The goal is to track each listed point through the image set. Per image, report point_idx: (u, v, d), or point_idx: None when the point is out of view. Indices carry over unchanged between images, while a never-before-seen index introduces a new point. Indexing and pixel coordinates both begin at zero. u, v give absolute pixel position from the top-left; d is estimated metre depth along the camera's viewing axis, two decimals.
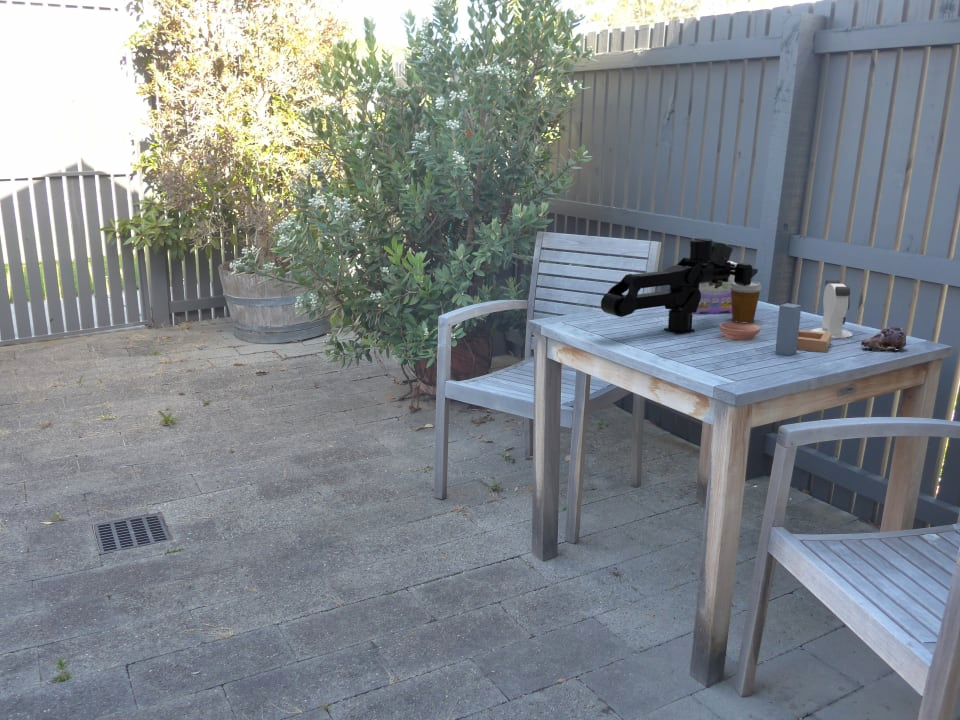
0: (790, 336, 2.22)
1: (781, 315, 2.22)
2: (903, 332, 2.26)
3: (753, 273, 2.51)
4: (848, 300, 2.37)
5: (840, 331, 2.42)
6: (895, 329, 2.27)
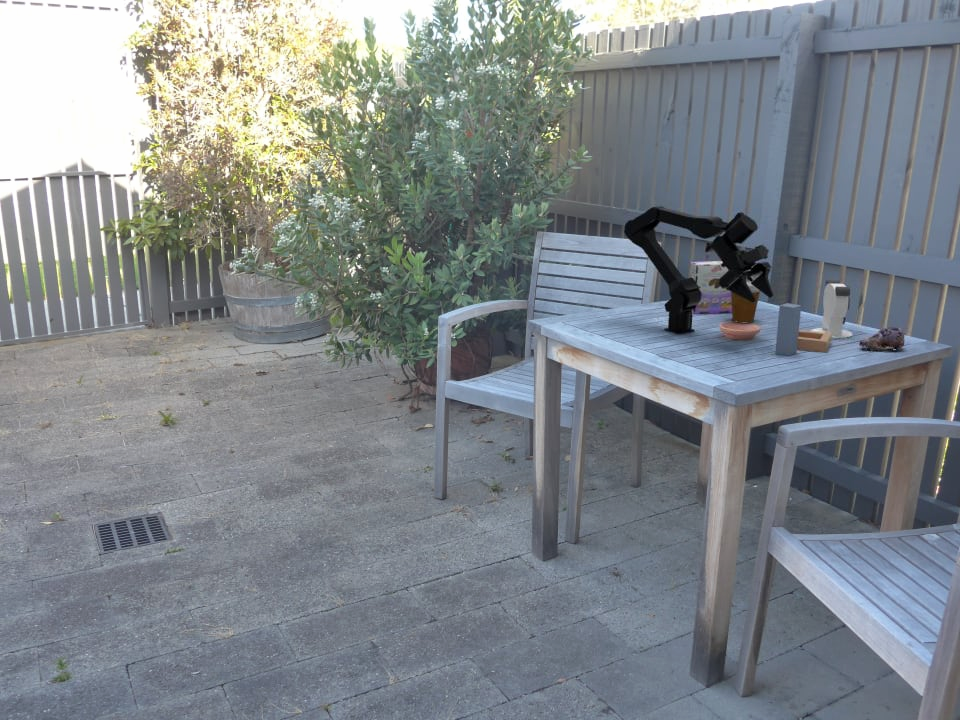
0: (790, 336, 2.22)
1: (781, 315, 2.22)
2: (901, 332, 2.26)
3: (746, 295, 2.25)
4: (848, 300, 2.37)
5: (840, 331, 2.42)
6: (893, 329, 2.27)
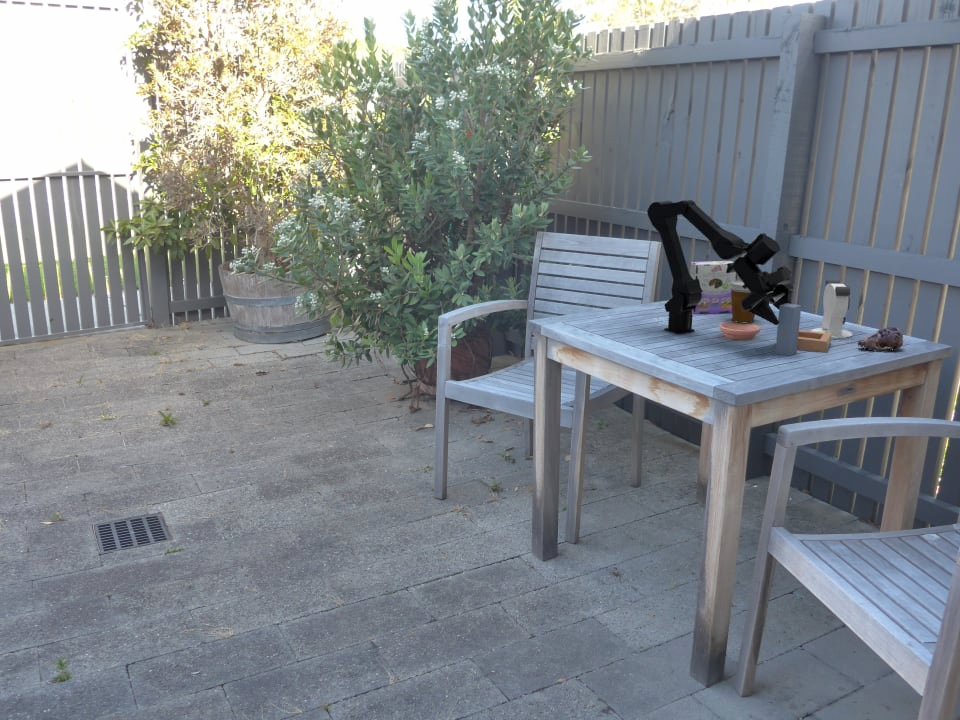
0: (790, 336, 2.22)
1: (781, 315, 2.22)
2: (900, 332, 2.26)
3: (769, 318, 2.21)
4: (848, 300, 2.37)
5: (840, 331, 2.42)
6: (892, 329, 2.27)
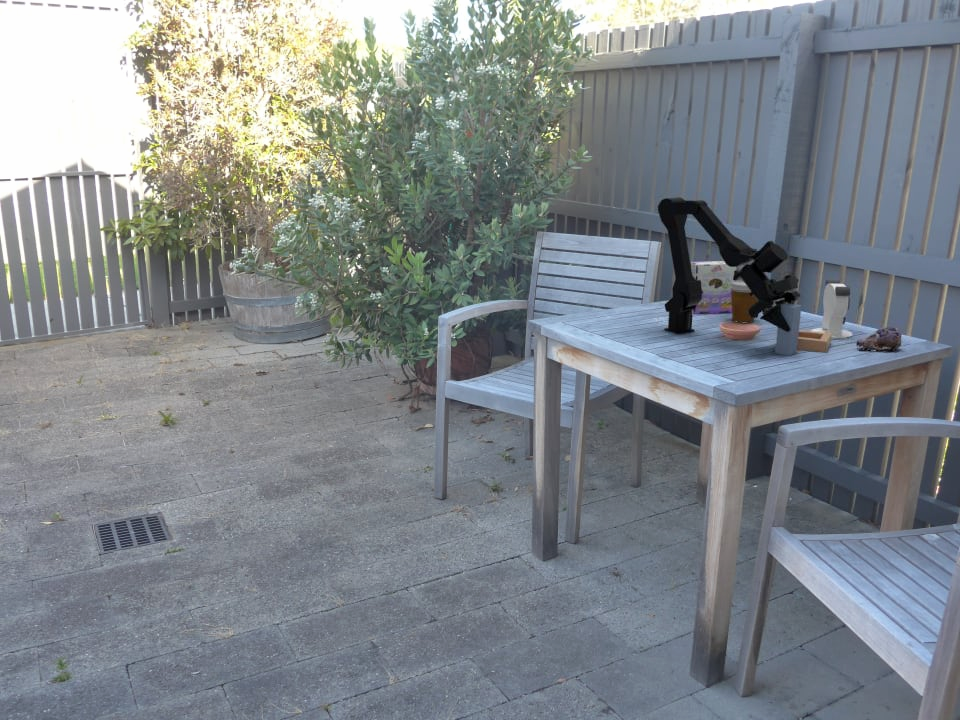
0: (790, 336, 2.22)
1: None
2: (898, 332, 2.26)
3: (780, 325, 2.22)
4: (848, 300, 2.37)
5: (840, 331, 2.42)
6: (890, 329, 2.27)
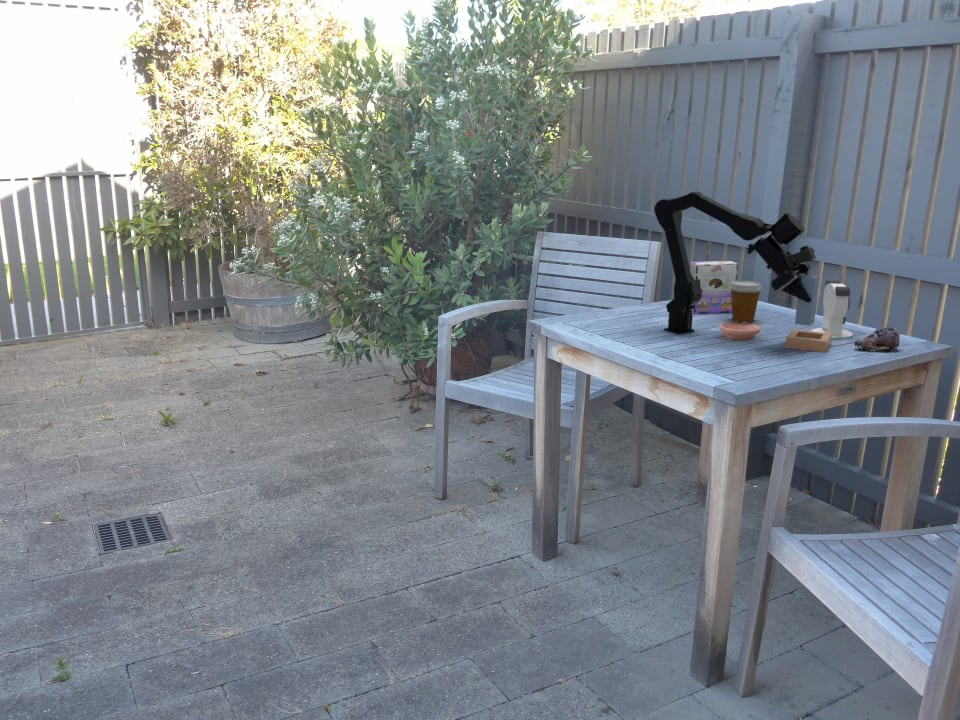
0: (811, 307, 2.24)
1: None
2: (896, 332, 2.26)
3: (801, 296, 2.24)
4: (848, 300, 2.37)
5: (840, 331, 2.42)
6: (888, 329, 2.27)
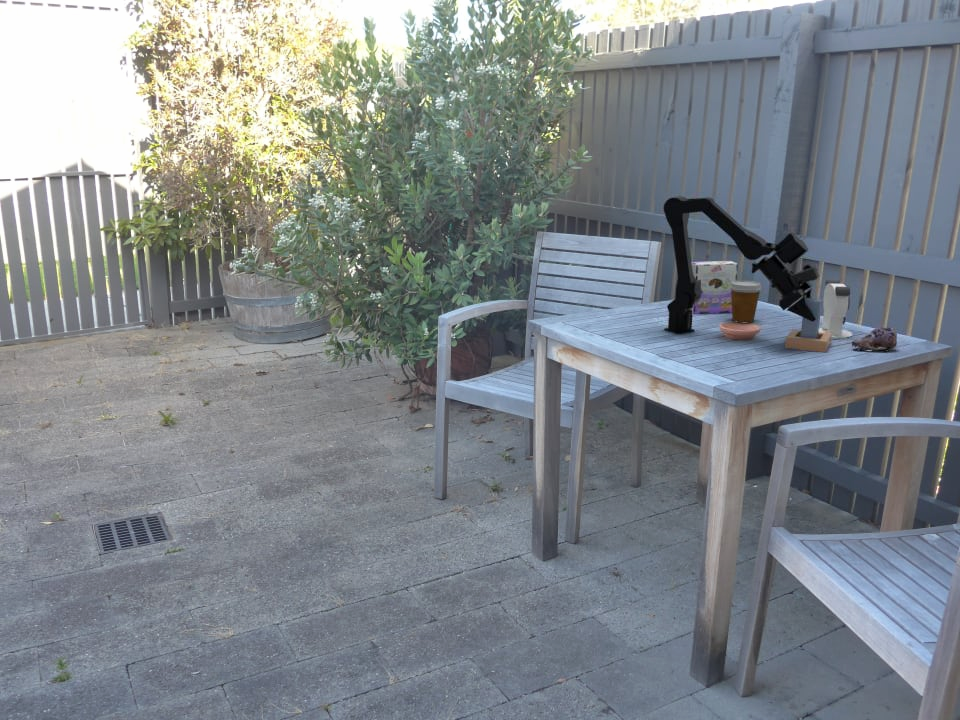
0: (816, 330, 2.29)
1: None
2: (894, 332, 2.26)
3: (806, 315, 2.26)
4: (848, 300, 2.37)
5: (840, 331, 2.42)
6: (886, 329, 2.27)
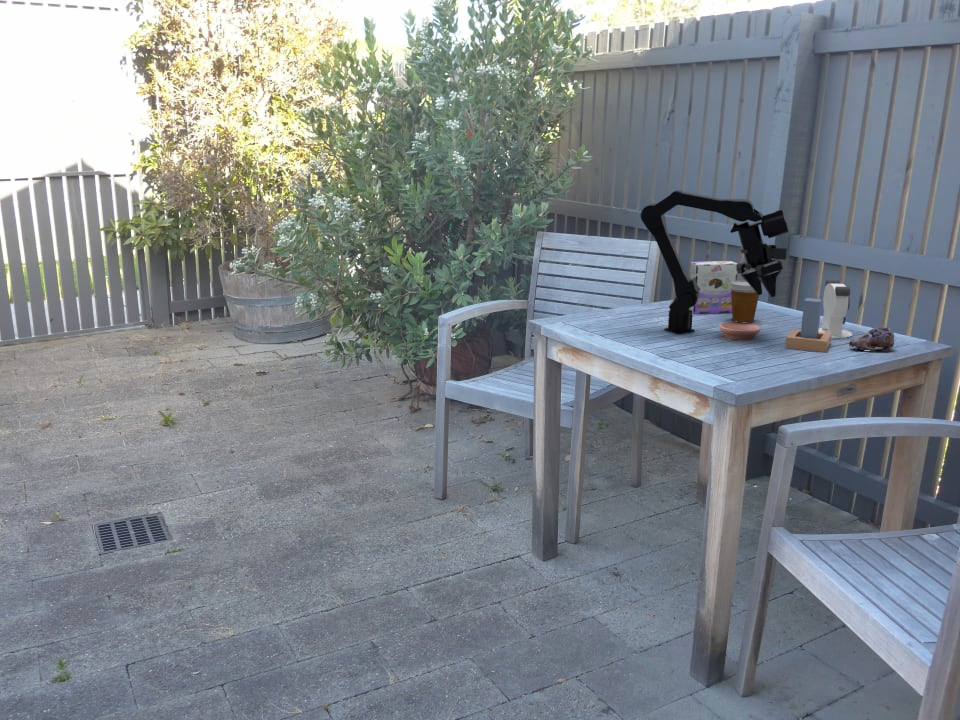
0: (815, 330, 2.29)
1: (806, 310, 2.29)
2: (891, 332, 2.26)
3: (771, 289, 2.33)
4: (848, 300, 2.37)
5: (840, 331, 2.42)
6: (883, 329, 2.27)
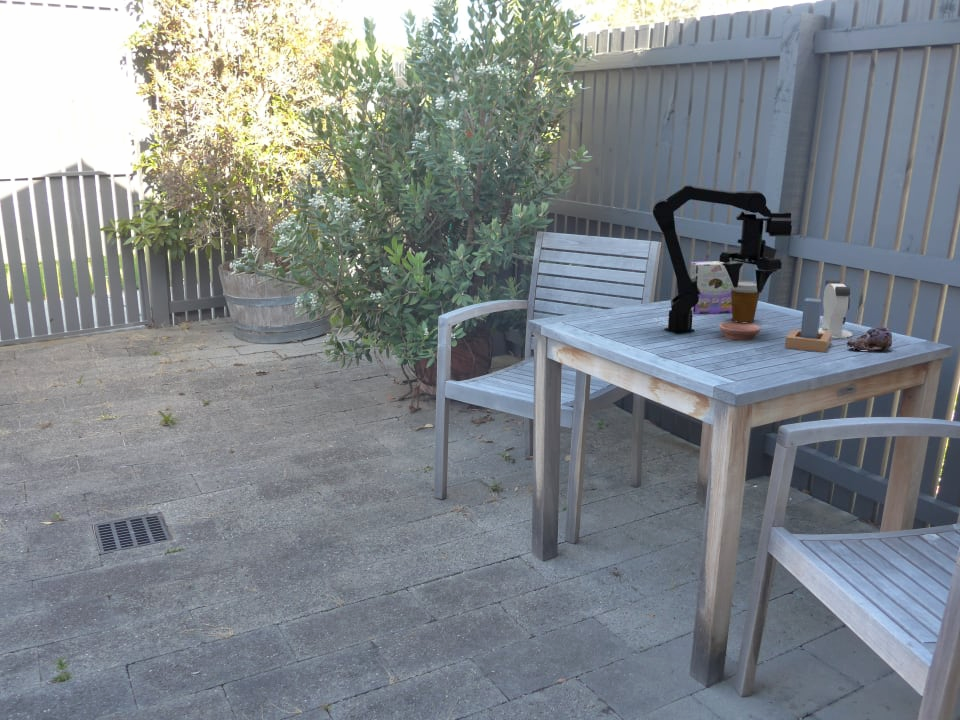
0: (815, 330, 2.29)
1: (806, 310, 2.29)
2: (889, 332, 2.26)
3: (761, 284, 2.37)
4: (848, 300, 2.37)
5: (840, 331, 2.42)
6: (881, 329, 2.27)
